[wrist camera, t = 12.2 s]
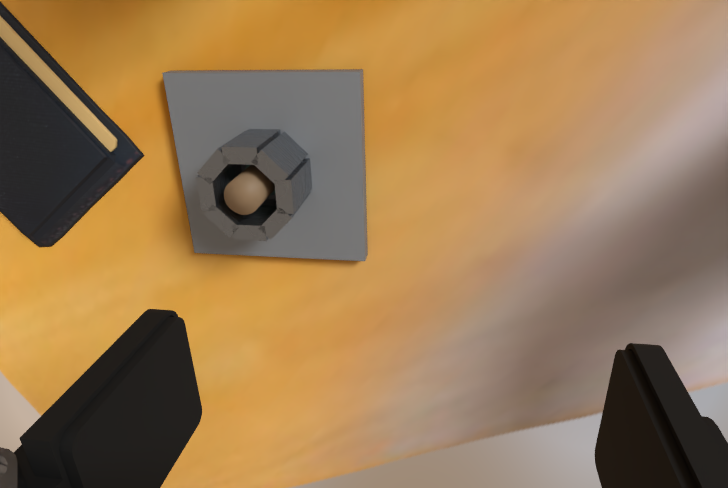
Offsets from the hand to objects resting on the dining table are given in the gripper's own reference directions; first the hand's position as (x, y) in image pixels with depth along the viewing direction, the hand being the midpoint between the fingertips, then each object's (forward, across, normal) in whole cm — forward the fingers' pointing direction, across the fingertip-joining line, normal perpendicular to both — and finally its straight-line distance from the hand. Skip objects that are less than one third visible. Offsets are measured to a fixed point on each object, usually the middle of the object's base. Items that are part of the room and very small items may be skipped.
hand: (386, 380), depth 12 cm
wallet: (+29, +34, 0) cm, 45 cm away
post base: (+28, +12, +4) cm, 31 cm away
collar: (+27, +12, +4) cm, 30 cm away
